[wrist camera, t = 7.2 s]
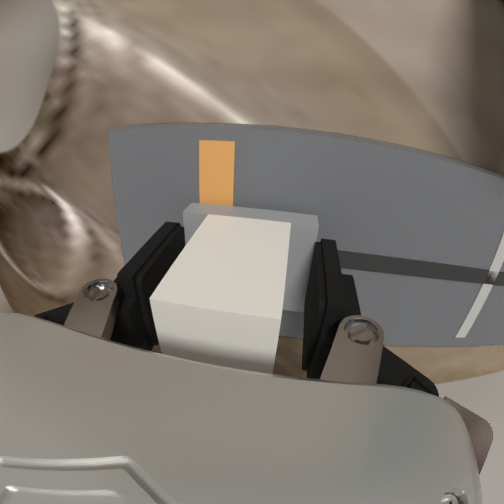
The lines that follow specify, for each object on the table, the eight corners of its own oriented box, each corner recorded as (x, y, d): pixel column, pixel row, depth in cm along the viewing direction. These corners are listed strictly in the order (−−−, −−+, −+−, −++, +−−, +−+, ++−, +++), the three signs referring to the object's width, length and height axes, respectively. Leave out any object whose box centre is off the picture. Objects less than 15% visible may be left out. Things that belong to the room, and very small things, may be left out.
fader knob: (317, 215, 11) (327, 323, 6) (303, 297, 13) (298, 414, 8) (191, 202, 12) (113, 291, 7) (195, 283, 14) (144, 386, 9)
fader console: (549, 194, 10) (569, 208, 8) (494, 325, 15) (506, 345, 13) (130, 124, 13) (107, 131, 11) (149, 291, 18) (134, 312, 16)
